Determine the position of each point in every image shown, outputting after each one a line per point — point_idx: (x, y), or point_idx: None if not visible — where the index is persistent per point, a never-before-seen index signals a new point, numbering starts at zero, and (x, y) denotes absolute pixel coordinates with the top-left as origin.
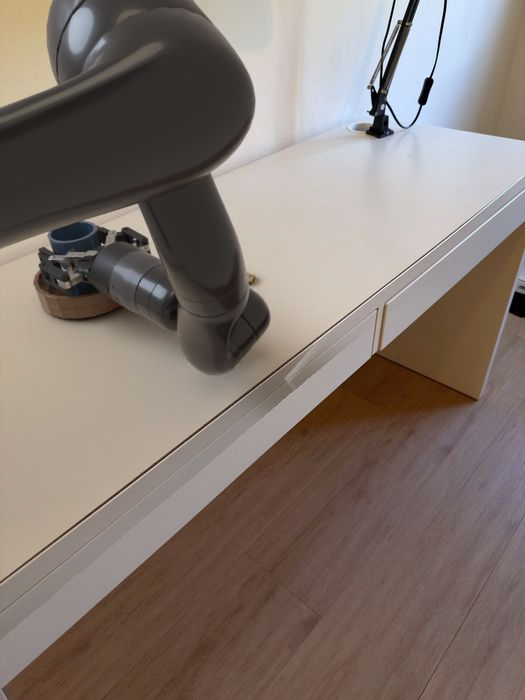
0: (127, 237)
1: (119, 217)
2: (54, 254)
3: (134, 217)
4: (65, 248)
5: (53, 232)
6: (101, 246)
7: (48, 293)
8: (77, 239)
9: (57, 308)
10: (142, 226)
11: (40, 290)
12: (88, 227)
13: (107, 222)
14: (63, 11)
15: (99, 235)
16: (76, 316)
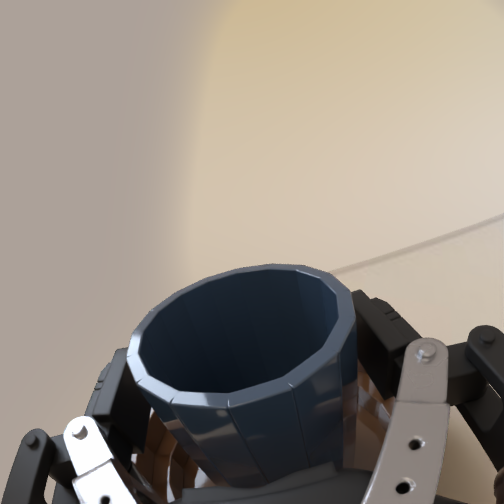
0: (481, 382)
1: (405, 253)
2: (102, 414)
3: (428, 256)
4: (152, 405)
5: (188, 298)
6: (328, 490)
7: (173, 445)
8: (199, 395)
9: None
10: (443, 275)
11: None
12: (324, 300)
13: (386, 259)
14: None
15: (361, 338)
16: None
